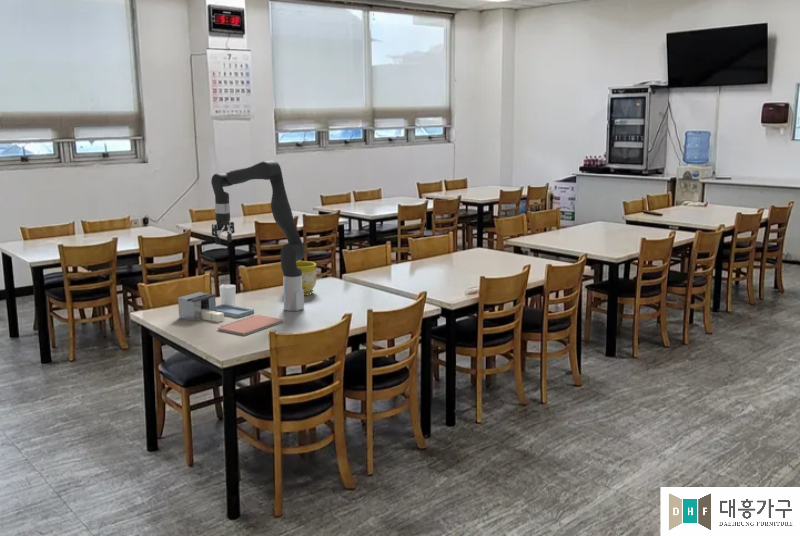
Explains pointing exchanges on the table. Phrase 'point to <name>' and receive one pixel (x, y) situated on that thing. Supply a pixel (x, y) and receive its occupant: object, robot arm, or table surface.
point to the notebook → (250, 324)
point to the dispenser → (195, 305)
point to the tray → (233, 310)
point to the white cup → (228, 294)
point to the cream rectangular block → (212, 315)
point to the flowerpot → (307, 275)
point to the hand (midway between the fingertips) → (223, 242)
